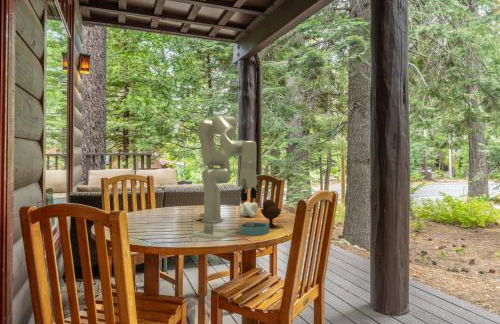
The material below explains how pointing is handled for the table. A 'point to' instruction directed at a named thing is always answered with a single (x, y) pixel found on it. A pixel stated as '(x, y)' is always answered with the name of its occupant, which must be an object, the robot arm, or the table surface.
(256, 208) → the white lumpy chunk
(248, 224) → the stone
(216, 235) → the parts tray
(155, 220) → the table surface
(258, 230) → the bowl
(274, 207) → the ice cream bowl
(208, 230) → the stone
